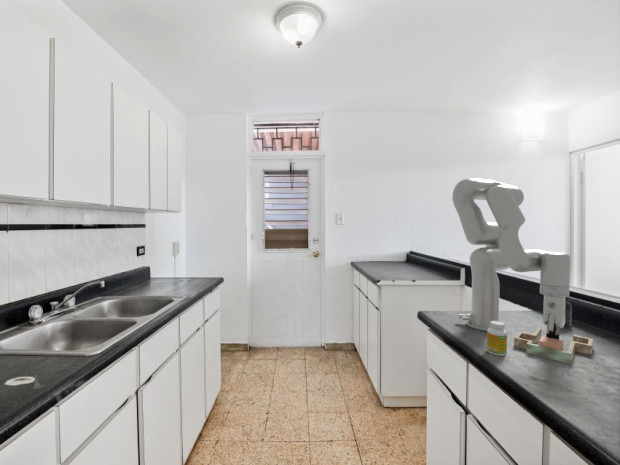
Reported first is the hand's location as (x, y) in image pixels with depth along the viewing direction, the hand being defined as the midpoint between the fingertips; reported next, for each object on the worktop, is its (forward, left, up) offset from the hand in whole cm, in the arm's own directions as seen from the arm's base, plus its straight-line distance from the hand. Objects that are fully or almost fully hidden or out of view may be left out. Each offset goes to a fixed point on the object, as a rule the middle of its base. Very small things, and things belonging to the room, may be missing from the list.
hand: (552, 345), depth 102 cm
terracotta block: (-2, -4, -2) cm, 5 cm away
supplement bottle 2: (+14, +30, -2) cm, 33 cm away
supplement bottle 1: (-18, -8, -2) cm, 20 cm away
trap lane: (+1, +2, -1) cm, 3 cm away
